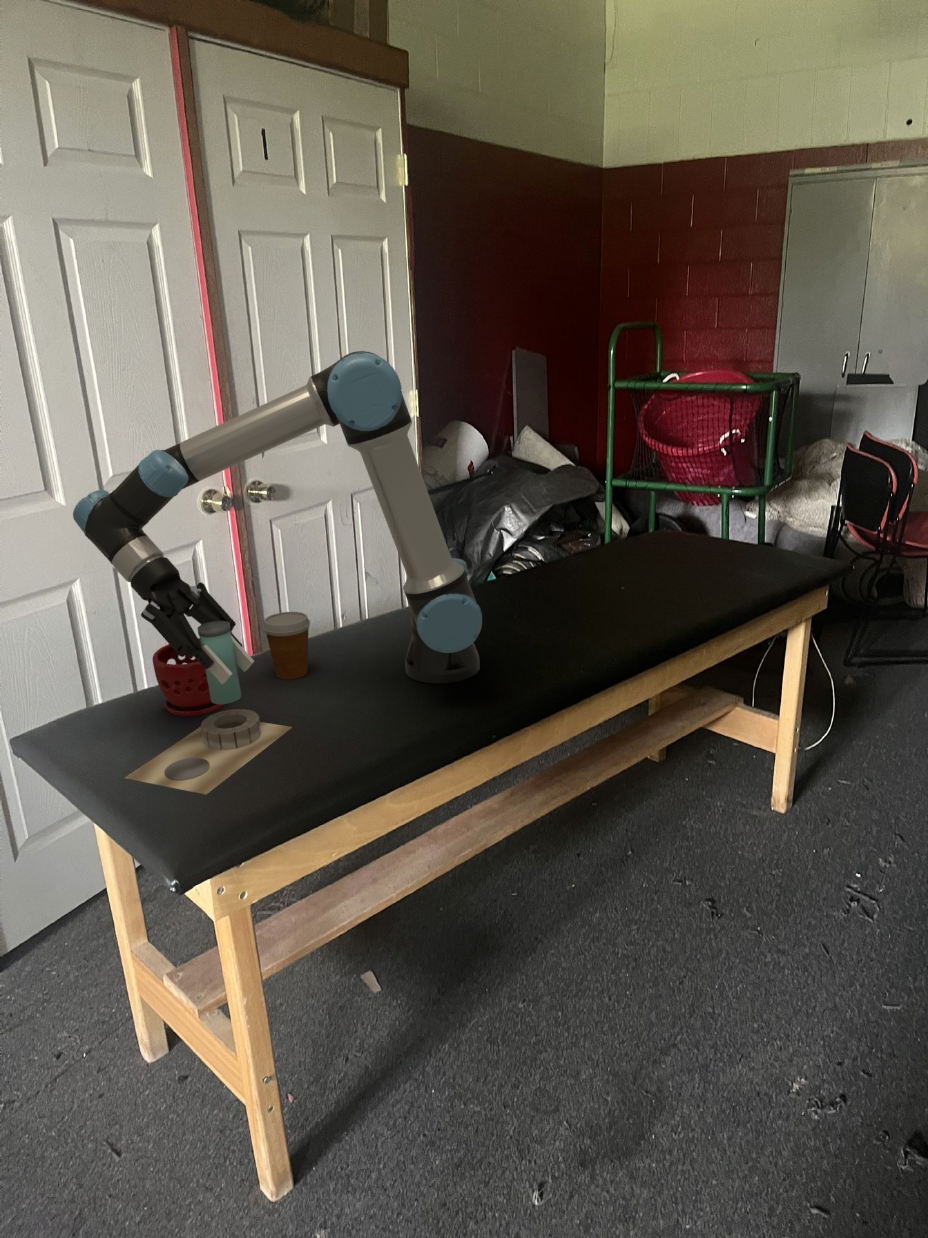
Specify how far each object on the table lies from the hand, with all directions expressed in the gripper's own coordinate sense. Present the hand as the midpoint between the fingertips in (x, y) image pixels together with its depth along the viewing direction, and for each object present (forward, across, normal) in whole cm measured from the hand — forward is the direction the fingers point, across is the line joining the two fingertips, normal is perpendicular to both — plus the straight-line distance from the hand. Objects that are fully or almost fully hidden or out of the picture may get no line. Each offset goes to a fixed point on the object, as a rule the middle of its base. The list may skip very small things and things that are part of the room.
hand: (238, 672), depth 147 cm
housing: (+7, +5, -12) cm, 15 cm away
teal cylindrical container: (+1, 0, -6) cm, 6 cm away
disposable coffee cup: (+1, -29, -18) cm, 35 cm away
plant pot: (-4, -9, -23) cm, 25 cm away
